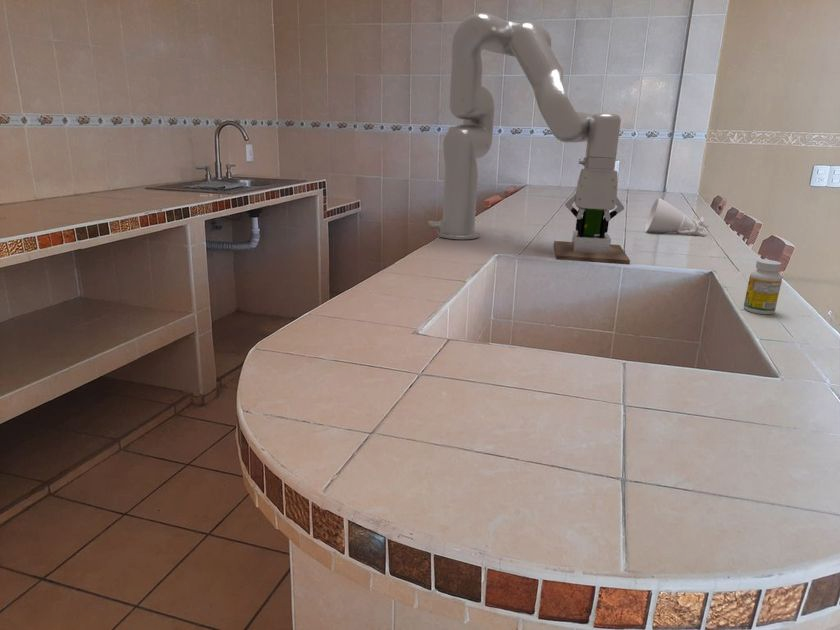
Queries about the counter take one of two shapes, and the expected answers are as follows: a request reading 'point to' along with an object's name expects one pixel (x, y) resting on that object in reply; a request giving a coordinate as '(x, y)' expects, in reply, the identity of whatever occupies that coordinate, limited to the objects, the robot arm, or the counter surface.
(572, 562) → the counter surface
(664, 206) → the rocket engine
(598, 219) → the beer can
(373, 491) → the counter surface
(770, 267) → the supplement bottle
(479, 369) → the counter surface
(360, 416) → the counter surface
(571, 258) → the cap board
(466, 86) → the robot arm
